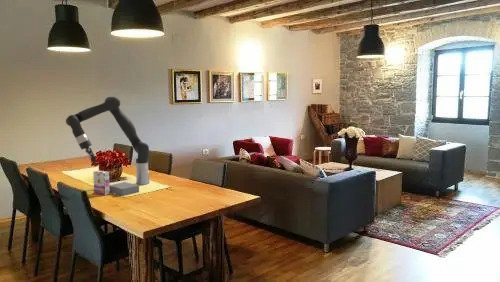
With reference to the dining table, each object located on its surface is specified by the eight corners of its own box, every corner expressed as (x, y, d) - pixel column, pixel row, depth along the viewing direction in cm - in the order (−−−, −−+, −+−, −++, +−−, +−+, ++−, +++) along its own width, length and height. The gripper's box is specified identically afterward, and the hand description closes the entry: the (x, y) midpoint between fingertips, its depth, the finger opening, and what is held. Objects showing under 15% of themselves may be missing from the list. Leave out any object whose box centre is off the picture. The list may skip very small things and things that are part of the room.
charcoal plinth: (125, 188, 295) (125, 182, 295) (139, 192, 285) (138, 185, 284) (108, 192, 284) (108, 185, 284) (122, 196, 274) (122, 189, 273)
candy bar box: (110, 194, 278) (109, 171, 276) (104, 195, 274) (104, 172, 272) (99, 192, 284) (98, 170, 282) (93, 193, 279) (92, 171, 277)
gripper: (89, 138, 270) (100, 159, 272) (87, 139, 282) (98, 159, 285) (78, 143, 267) (90, 164, 269) (77, 144, 279) (88, 164, 282)
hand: (94, 161), depth 277 cm, fingers open, 8 cm apart
